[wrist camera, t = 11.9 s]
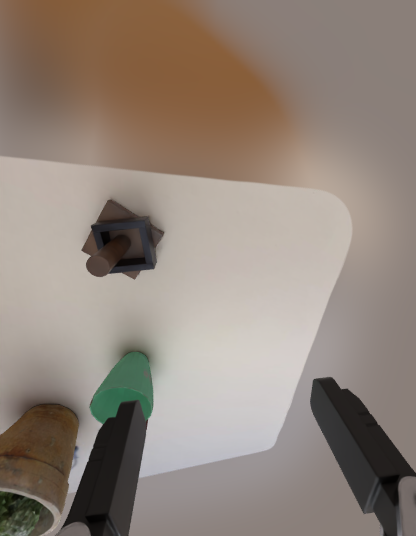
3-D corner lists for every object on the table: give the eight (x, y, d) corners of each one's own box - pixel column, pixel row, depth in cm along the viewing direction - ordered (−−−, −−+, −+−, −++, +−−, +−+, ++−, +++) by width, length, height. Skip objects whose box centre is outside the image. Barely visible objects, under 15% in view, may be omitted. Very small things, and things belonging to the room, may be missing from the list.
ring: (148, 216, 33) (144, 220, 30) (157, 261, 36) (154, 269, 33) (99, 221, 32) (90, 225, 30) (111, 266, 35) (104, 274, 33)
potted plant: (-1, 389, 45) (-199, 609, 22) (94, 393, 47) (3, 597, 25) (15, 445, 52) (-123, 657, 29) (98, 446, 54) (29, 644, 31)
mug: (103, 346, 43) (79, 393, 34) (153, 337, 43) (142, 381, 34) (127, 398, 49) (112, 449, 40) (171, 389, 49) (166, 439, 40)
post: (111, 199, 33) (75, 210, 23) (164, 232, 35) (153, 256, 25) (85, 247, 35) (42, 277, 25) (136, 276, 38) (116, 313, 28)
